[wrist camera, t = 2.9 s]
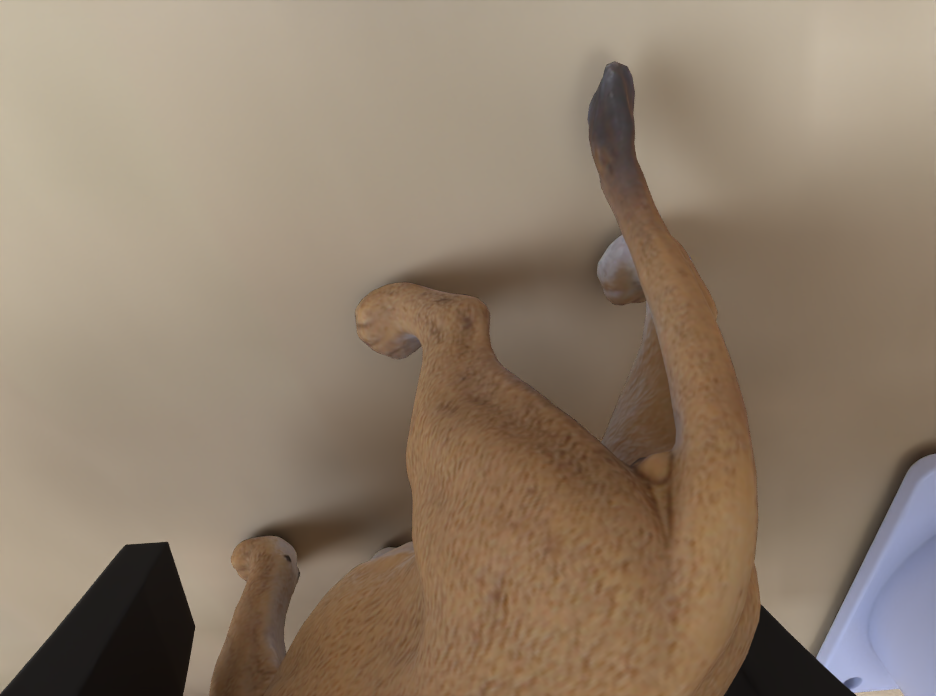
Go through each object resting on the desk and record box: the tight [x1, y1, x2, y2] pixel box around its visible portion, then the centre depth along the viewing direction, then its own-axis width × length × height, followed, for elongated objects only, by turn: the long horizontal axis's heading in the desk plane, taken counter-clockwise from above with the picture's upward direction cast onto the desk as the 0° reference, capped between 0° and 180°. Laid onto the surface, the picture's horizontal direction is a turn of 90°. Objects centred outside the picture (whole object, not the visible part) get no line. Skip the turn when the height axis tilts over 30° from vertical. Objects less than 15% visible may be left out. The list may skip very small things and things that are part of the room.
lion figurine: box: [209, 62, 761, 696], centre depth 9 cm, size 15×5×9 cm, turn 157°
